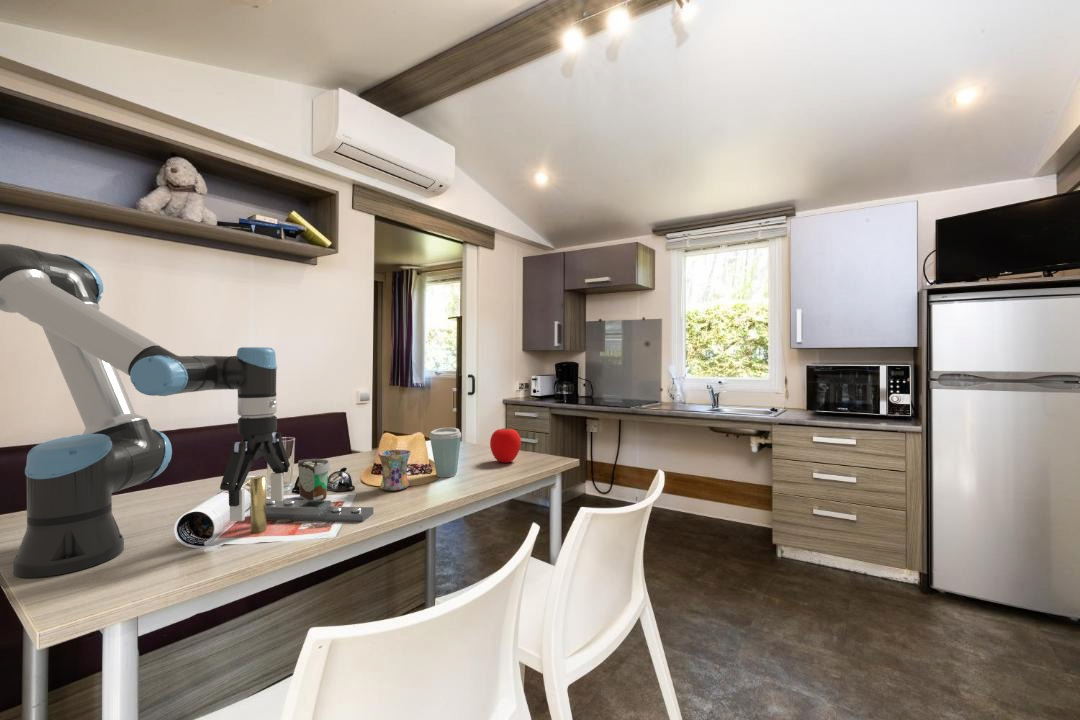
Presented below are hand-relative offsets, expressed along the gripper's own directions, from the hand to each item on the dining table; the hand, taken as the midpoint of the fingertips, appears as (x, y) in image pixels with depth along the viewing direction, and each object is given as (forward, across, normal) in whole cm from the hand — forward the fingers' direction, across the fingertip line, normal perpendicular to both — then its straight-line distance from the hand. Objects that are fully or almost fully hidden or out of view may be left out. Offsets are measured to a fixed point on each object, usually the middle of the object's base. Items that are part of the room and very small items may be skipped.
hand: (258, 510), depth 107 cm
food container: (+5, +25, 0) cm, 25 cm away
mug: (+5, +36, -17) cm, 40 cm away
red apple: (+5, +71, -46) cm, 85 cm away
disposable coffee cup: (+5, +51, -29) cm, 59 cm away
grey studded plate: (+5, +10, -7) cm, 13 cm away
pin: (+5, 0, 0) cm, 5 cm away
